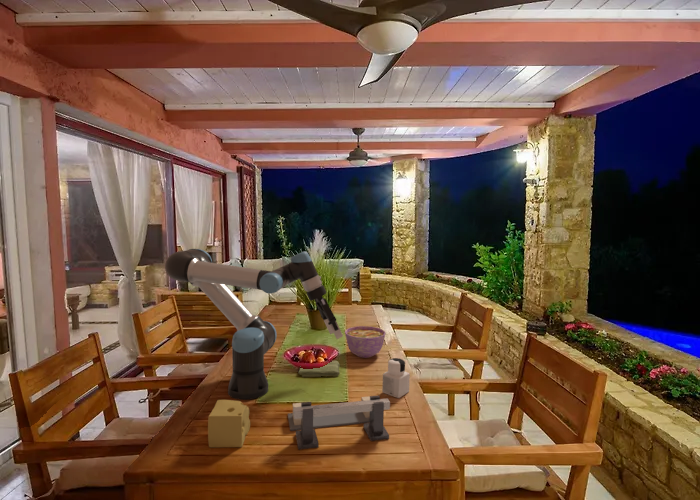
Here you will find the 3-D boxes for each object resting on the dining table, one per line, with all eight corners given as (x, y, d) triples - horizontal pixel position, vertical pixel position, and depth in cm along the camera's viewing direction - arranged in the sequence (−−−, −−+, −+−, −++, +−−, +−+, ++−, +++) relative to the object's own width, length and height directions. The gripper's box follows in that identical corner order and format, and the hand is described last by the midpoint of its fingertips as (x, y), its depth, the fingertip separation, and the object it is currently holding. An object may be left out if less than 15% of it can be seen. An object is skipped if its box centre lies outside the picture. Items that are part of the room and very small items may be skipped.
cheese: (250, 429, 126) (250, 399, 125) (242, 449, 115) (242, 416, 115) (217, 429, 126) (217, 399, 125) (206, 449, 115) (205, 416, 114)
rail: (294, 419, 117) (294, 411, 117) (293, 414, 120) (293, 407, 119) (389, 409, 124) (390, 401, 124) (387, 405, 126) (387, 398, 126)
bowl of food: (390, 351, 199) (391, 329, 198) (376, 365, 181) (377, 340, 180) (354, 345, 208) (354, 324, 207) (337, 357, 190) (337, 334, 189)
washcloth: (300, 366, 179) (300, 359, 179) (339, 366, 180) (339, 359, 180) (298, 378, 166) (298, 370, 166) (339, 378, 167) (339, 371, 167)
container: (392, 386, 159) (393, 355, 158) (409, 391, 155) (410, 359, 153) (381, 392, 153) (382, 360, 152) (398, 398, 149) (399, 365, 147)
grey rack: (298, 449, 116) (298, 413, 115) (295, 434, 123) (295, 400, 122) (389, 438, 122) (390, 404, 121) (381, 425, 130) (382, 393, 129)
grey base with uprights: (290, 430, 125) (290, 415, 125) (287, 415, 135) (287, 401, 135) (383, 420, 132) (383, 406, 132) (374, 406, 142) (374, 393, 142)
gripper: (328, 284, 149) (351, 335, 150) (317, 283, 173) (338, 327, 174) (310, 293, 147) (334, 344, 148) (302, 291, 171) (323, 335, 172)
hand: (336, 335), depth 161 cm, fingers open, 13 cm apart
